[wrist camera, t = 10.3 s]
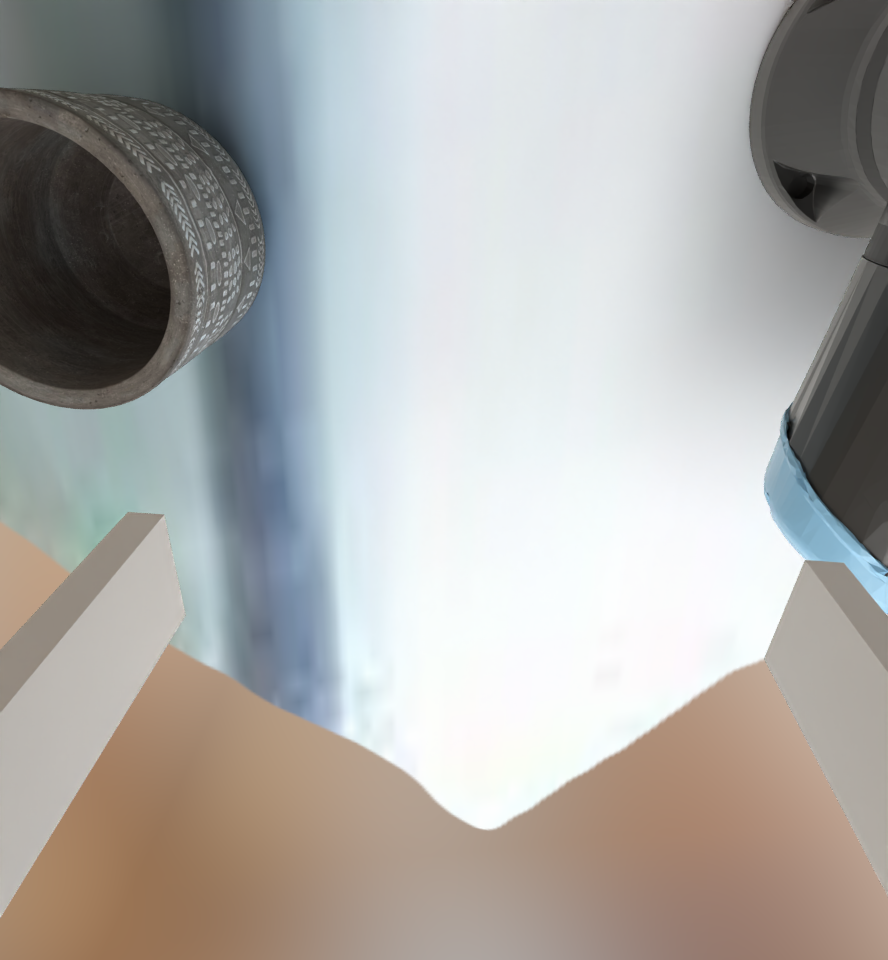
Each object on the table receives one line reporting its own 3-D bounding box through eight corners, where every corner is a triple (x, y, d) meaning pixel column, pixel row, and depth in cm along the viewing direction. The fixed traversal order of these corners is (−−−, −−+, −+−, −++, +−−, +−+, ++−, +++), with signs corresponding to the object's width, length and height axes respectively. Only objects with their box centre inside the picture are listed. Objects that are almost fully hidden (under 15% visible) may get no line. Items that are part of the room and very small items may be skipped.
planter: (39, 104, 38) (-190, 94, 25) (263, 92, 37) (143, 74, 24) (109, 331, 45) (-42, 413, 32) (300, 326, 44) (222, 409, 31)
